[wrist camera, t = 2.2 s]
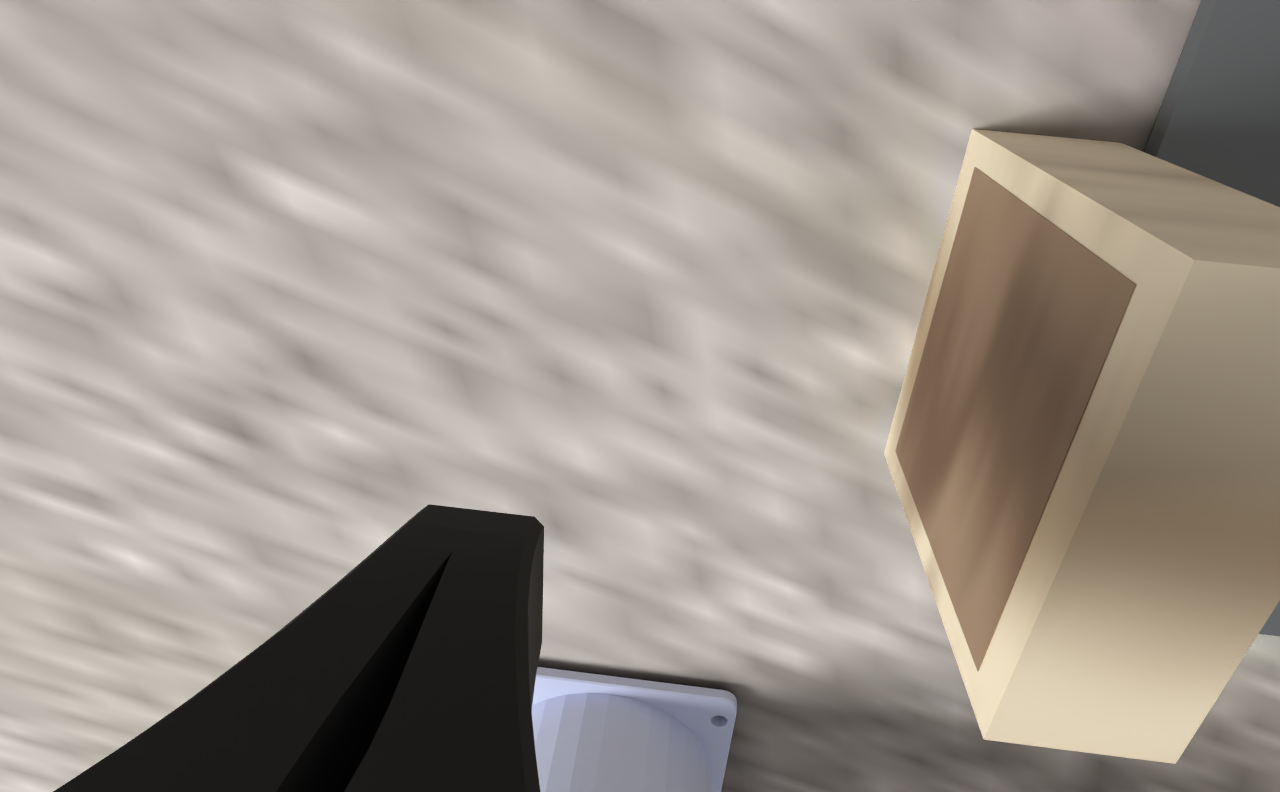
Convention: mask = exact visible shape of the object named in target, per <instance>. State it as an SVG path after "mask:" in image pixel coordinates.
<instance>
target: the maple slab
mask: <svg viewBox="0 0 1280 792" xmlns="http://www.w3.org/2000/svg"><path fill="white" fill-rule="evenodd" d="M884 455H885V458H886V460H887V463H888V466H889V469H890V472H891V475H892V478H893V481H894V483H895V486H896V489H897V492H898V495H899V498H900V501H901V504H902V506H903V509H904V512H905V515H906V518H907V521H908V524H909V527H910V529H911V532H912V535H913V538H914V541H915V544H916V547H917V549H918V552H919V555H920V558H921V561H922V564H923V567H924V570H925V572H926V575H927V578H928V581H929V584H930V587H931V590H932V593H933V595H934V598H935V601H936V604H937V607H938V610H939V613H940V616H941V618H942V621H943V624H944V627H945V630H946V633H947V636H948V639H949V641H950V644H951V647H952V650H953V653H954V656H955V659H956V662H957V664H958V667H959V670H960V673H961V676H962V679H963V682H964V685H965V687H966V690H967V693H968V696H969V699H970V702H971V705H972V708H973V710H974V713H975V716H976V719H977V722H978V725H979V728H980V731H981V733H982V736H983V739H984V740H991V741H999V742H1007V743H1015V744H1023V745H1031V746H1039V747H1046V748H1054V749H1062V750H1070V751H1078V752H1086V753H1094V754H1102V755H1110V756H1117V757H1125V758H1133V759H1141V760H1149V761H1157V762H1165V763H1173V764H1176V762H1177V761H1178V759H1179V758H1180V756H1181V755H1182V753H1183V751H1184V750H1185V748H1186V747H1187V745H1188V744H1189V742H1190V740H1191V739H1192V737H1193V736H1194V734H1195V733H1196V731H1197V729H1198V728H1199V726H1200V725H1201V723H1202V722H1203V720H1204V718H1205V717H1206V715H1207V714H1208V712H1209V711H1210V709H1211V708H1212V706H1213V704H1214V703H1215V701H1216V700H1217V698H1218V697H1219V695H1220V693H1221V692H1222V690H1223V689H1224V687H1225V686H1226V684H1227V682H1228V681H1229V679H1230V678H1231V676H1232V675H1233V673H1234V671H1235V670H1236V668H1237V667H1238V665H1239V664H1240V662H1241V660H1242V659H1243V657H1244V656H1245V654H1246V653H1247V651H1248V649H1249V648H1250V646H1251V645H1252V643H1253V642H1254V640H1255V638H1256V637H1257V635H1258V634H1259V632H1260V631H1261V629H1262V627H1263V626H1264V624H1265V623H1266V621H1267V620H1268V618H1269V616H1270V615H1271V613H1272V612H1273V610H1274V609H1275V607H1276V605H1277V604H1278V602H1279V601H1280V207H1278V206H1275V205H1273V204H1270V203H1268V202H1265V201H1263V200H1260V199H1258V198H1256V197H1253V196H1251V195H1248V194H1246V193H1243V192H1241V191H1238V190H1236V189H1233V188H1231V187H1228V186H1226V185H1223V184H1221V183H1219V182H1216V181H1214V180H1211V179H1209V178H1206V177H1204V176H1201V175H1199V174H1196V173H1194V172H1191V171H1189V170H1187V169H1184V168H1182V167H1179V166H1177V165H1174V164H1172V163H1169V162H1167V161H1164V160H1162V159H1159V158H1157V157H1154V156H1152V155H1150V154H1147V153H1145V152H1142V151H1140V150H1137V149H1135V148H1132V147H1130V146H1127V145H1125V144H1122V143H1119V142H1108V141H1097V140H1086V139H1075V138H1065V137H1054V136H1043V135H1032V134H1021V133H1010V132H1000V131H989V130H978V129H972V131H971V135H970V139H969V143H968V146H967V150H966V154H965V157H964V161H963V165H962V168H961V172H960V176H959V179H958V183H957V187H956V190H955V194H954V198H953V201H952V205H951V209H950V213H949V216H948V220H947V224H946V227H945V231H944V235H943V238H942V242H941V246H940V249H939V253H938V257H937V260H936V264H935V268H934V271H933V275H932V279H931V282H930V286H929V290H928V294H927V297H926V301H925V305H924V308H923V312H922V316H921V319H920V323H919V327H918V330H917V334H916V338H915V341H914V345H913V349H912V352H911V356H910V360H909V363H908V367H907V371H906V375H905V378H904V382H903V386H902V389H901V393H900V397H899V400H898V404H897V408H896V411H895V415H894V419H893V422H892V426H891V430H890V433H889V437H888V441H887V445H886V448H885V452H884Z"/></svg>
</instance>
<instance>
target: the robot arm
mask: <svg viewBox="0 0 1280 792" xmlns="http://www.w3.org/2000/svg"><path fill="white" fill-rule="evenodd" d="M543 552H544V526H543V525H542V524H541V523H540V522H539V521H538V520H537V519H536V518H535V517H532V516H523V515H514V514H506V513H497V512H489V511H480V510H472V509H463V508H454V507H446V506H437V505H428V506H426V507H425V508H424V509H422V510H421V511H420V512H418V513H417V514H416V515H415V516H414V517H413V518H411V519H410V520H409V521H408V522H407V523H406V524H404V525H403V526H402V527H401V528H400V529H399V530H398V531H396V532H395V533H394V534H393V535H392V536H391V537H390V538H388V539H387V540H386V541H385V542H384V543H383V544H382V545H380V546H379V547H378V548H377V549H376V550H375V551H374V552H373V553H371V554H370V555H369V556H368V557H367V558H366V559H364V560H363V561H362V562H361V563H360V564H359V565H358V566H356V567H355V568H354V569H353V570H352V571H351V572H349V573H348V574H347V575H346V576H345V577H344V578H342V579H341V580H340V581H339V582H338V583H337V584H335V585H334V586H333V587H332V588H331V589H329V590H328V591H327V592H326V593H325V594H323V595H322V596H321V597H320V598H319V599H317V600H316V601H315V602H314V603H312V604H311V605H310V606H309V607H308V608H306V609H305V610H304V611H303V612H302V613H300V614H299V615H298V616H297V617H296V618H294V619H293V620H292V621H291V622H289V623H288V624H287V625H286V626H285V627H283V628H282V629H281V630H280V631H278V632H277V633H276V634H275V635H273V636H272V637H271V638H270V639H268V640H267V641H266V642H265V643H263V644H262V645H261V646H259V647H258V648H257V649H255V650H254V651H253V652H251V653H250V654H249V655H248V656H246V657H245V658H244V659H242V660H241V661H240V662H238V663H237V664H236V665H234V666H233V667H232V668H230V669H229V670H228V671H226V672H225V673H224V674H222V675H221V676H220V677H218V678H217V679H216V680H215V681H213V682H212V683H211V684H209V685H208V686H207V687H205V688H204V689H203V690H201V691H200V692H199V693H197V694H196V695H195V696H193V697H192V698H191V699H189V700H188V701H187V702H185V703H184V704H182V705H181V706H180V707H178V708H177V709H175V710H174V711H173V712H171V713H170V714H168V715H167V716H165V717H164V718H163V719H161V720H160V721H158V722H157V723H156V724H154V725H153V726H151V727H150V728H149V729H147V730H146V731H144V732H143V733H141V734H140V735H138V736H137V737H135V738H134V739H132V740H131V741H130V742H128V743H127V744H125V745H124V746H122V747H121V748H119V749H118V750H116V751H115V752H113V753H112V754H110V755H109V756H107V757H106V758H104V759H103V760H101V761H100V762H98V763H97V764H95V765H93V766H92V767H90V768H89V769H87V770H86V771H84V772H83V773H81V774H80V775H78V776H77V777H75V778H74V779H72V780H71V781H69V782H68V783H66V784H65V785H63V786H61V787H60V788H58V789H57V790H55V791H54V792H721V789H722V784H723V779H724V774H725V769H726V764H727V759H728V754H729V749H730V744H731V739H732V734H733V729H734V724H735V719H736V714H737V699H736V697H735V696H734V695H733V694H732V693H730V692H729V691H725V690H719V689H711V688H703V687H695V686H687V685H679V684H671V683H663V682H655V681H647V680H639V679H631V678H623V677H615V676H607V675H599V674H591V673H583V672H575V671H567V670H559V669H551V668H543V667H537V666H538V661H539V655H540V649H541V644H542V606H543ZM717 715H721V716H717Z"/></svg>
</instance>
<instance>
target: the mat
mask: <svg viewBox="0 0 1280 792" xmlns="http://www.w3.org/2000/svg"><path fill="white" fill-rule="evenodd" d="M1144 152H1145V153H1147V154H1150V155H1152V156H1154V157H1157V158H1159V159H1162V160H1164V161H1167V162H1169V163H1172V164H1174V165H1177V166H1179V167H1182V168H1184V169H1187V170H1189V171H1191V172H1194V173H1196V174H1199V175H1201V176H1204V177H1206V178H1209V179H1211V180H1214V181H1216V182H1219V183H1221V184H1223V185H1226V186H1228V187H1231V188H1233V189H1236V190H1238V191H1241V192H1243V193H1246V194H1248V195H1251V196H1253V197H1256V198H1258V199H1260V200H1263V201H1265V202H1268V203H1270V204H1273V205H1275V206H1278V207H1280V0H1202V1H1201V3H1200V6H1199V9H1198V11H1197V14H1196V16H1195V19H1194V22H1193V24H1192V27H1191V30H1190V32H1189V35H1188V38H1187V40H1186V43H1185V45H1184V48H1183V51H1182V53H1181V56H1180V59H1179V61H1178V64H1177V66H1176V69H1175V72H1174V74H1173V77H1172V80H1171V82H1170V85H1169V87H1168V90H1167V93H1166V95H1165V98H1164V101H1163V103H1162V106H1161V109H1160V111H1159V114H1158V116H1157V119H1156V122H1155V124H1154V127H1153V130H1152V132H1151V135H1150V137H1149V140H1148V143H1147V145H1146V148H1145V151H1144ZM1259 634H1266V635H1274V636H1280V601H1279V602H1278V604H1277V605H1276V607H1275V609H1274V610H1273V612H1272V613H1271V615H1270V616H1269V618H1268V620H1267V621H1266V623H1265V624H1264V626H1263V627H1262V629H1261V631H1260V632H1259Z"/></svg>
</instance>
